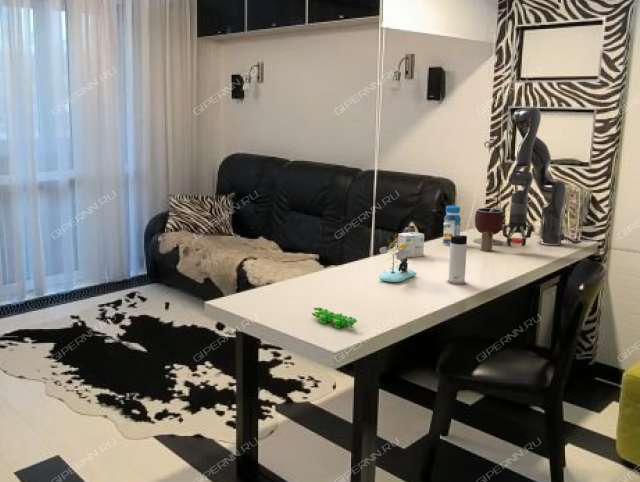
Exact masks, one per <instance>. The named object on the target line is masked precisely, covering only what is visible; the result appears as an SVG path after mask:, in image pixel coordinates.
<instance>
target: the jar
mask: <svg viewBox="0 0 640 482" xmlns="http://www.w3.org/2000/svg"><path fill="white" fill-rule="evenodd" d="M492 234H493V232H491V231H483V234H482V233H481V238H482V240H481V243H480V251H482V252H493V246H494V245H493V239H494V235H492Z"/></svg>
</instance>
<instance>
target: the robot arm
mask: <svg viewBox="0 0 640 482" xmlns="http://www.w3.org/2000/svg"><path fill="white" fill-rule="evenodd" d="M513 120H514V121H513V122H514V124H515V127H516V129H517V130H518V132H519V134H520V136H521V138H522V140H521V141H520V143H519V144H518V145H517V148H516V151H515V156H514V157H515V158H514V163H513V164H514V165H513V166H512V169H511V171H510V173H509V175H508V183H509V184H510V185H511V186H517V187H518V186H519V187H522V189H516V190H513V191H511V198H510V199H511V200H510V206H509V219H508V221H509V222H508V224H503V225H502V229H501V230H502V236H503V237H504V238H506V245H507V246H508V247H511V245H512V243H511V238H513V236H514V234H516V233H519V234H520V235H521V239H523V243H521V247H525V246H526V245H527V239H531V237H532V233H533V228H534V226H533V225H532V224H527V217H528V197H529V192H530V189H531V186H532V184H533V181H534V175H533V173H532V172H531V171H527V170H525V171H524V170H521V169H527V168H529V167H530V166H531V165H532V167H533V171H534V173H535V176H536V180H537V185H538V189H539V193H540V194H541V195H542V197H545V198H548V199H550V201H549V203H545V204H543V205H542V207H541V220H540V233H539V234H540V235H539V239H538V240H539V244H540V245H545V246H560V245H562V241H564V240H568V241H569V242H570V243H573V244H578V243H581V240H572V239H571V238H570V237H567V236H565V233H563V225H562V220H563V219H562V217H563V209H564V206H565V204H566V203H565V201H566V196H567V195H566V194H567V186H566V183H565V182H564V181H561V180H555V179H552V178H551V176H550V173H549V167H550V163H551V159H552V156H551V153H550V151H549V148H548V145H547V144H546V143H545V141H543V140H542V139H541V138H539V136H537V135H538V132H539V128H540V125H541V120H542V114H541V110H540V109H539V108H538V107H536V106H532V107H526V108H519V109H517V110H515V111H514V113H513ZM508 228H509V231H508V232H507V230H508ZM525 229H527V231H526V232H525Z"/></svg>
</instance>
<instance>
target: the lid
mask: <svg viewBox="0 0 640 482" xmlns="http://www.w3.org/2000/svg"><path fill="white" fill-rule="evenodd" d="M521 243H523V239H522V237H521V238H520V237H511V244H516V245H517V244H518V245H519V244H521Z"/></svg>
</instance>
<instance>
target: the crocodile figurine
mask: <svg viewBox="0 0 640 482" xmlns="http://www.w3.org/2000/svg"><path fill="white" fill-rule="evenodd" d="M312 310H314V312H311V315H312V316H313V317H315V318H316V319H320V321H319V322H320V323H321V324H323V325H325V324H327V323H328V322H332V324H334V325H333V327H334V328H336V329H341V327H343V328H346V326H349V327H350V329H353V328H354V325H355V324H356V323H357V322H358V320H357V318H354V317H353V316H348V315H343V313H342V312H340V313H338V312H337V313H335V312H334V311H330V310H328V309H327V308H322V307H321V306H319V307H316V306H315V307H313V308H312Z"/></svg>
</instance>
